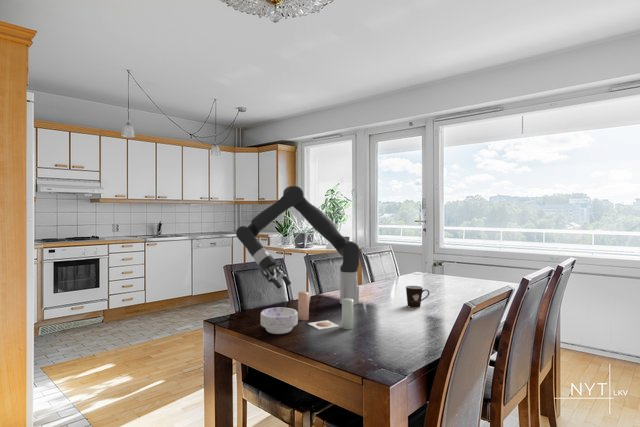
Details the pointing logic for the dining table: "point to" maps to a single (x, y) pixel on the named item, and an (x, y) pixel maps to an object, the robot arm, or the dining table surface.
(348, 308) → the grey-green tube
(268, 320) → the paper bowls
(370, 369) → the dining table surface
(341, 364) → the dining table surface
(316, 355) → the dining table surface
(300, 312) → the terracotta tube
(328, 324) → the card
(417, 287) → the coffee mug
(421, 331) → the dining table surface
